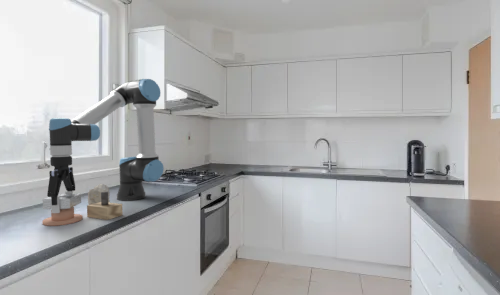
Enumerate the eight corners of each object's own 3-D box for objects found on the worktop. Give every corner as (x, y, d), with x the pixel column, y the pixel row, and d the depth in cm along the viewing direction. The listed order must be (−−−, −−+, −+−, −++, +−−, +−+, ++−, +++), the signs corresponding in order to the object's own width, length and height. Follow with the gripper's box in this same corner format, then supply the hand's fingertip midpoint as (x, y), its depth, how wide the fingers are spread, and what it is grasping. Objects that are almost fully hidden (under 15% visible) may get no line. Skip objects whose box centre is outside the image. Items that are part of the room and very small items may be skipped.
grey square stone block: (56, 203, 127) (56, 194, 126) (81, 202, 128) (80, 193, 128) (42, 209, 117) (42, 199, 117) (69, 208, 118) (69, 198, 118)
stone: (91, 211, 138) (90, 186, 137) (86, 209, 141) (85, 185, 141) (112, 206, 146) (112, 183, 146) (107, 205, 149) (107, 182, 149)
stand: (103, 212, 136) (102, 189, 135) (122, 215, 131) (122, 191, 130) (87, 216, 128) (86, 192, 128) (107, 220, 123) (106, 195, 123)
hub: (68, 214, 132) (67, 191, 131) (90, 218, 126) (89, 193, 126) (34, 223, 119) (33, 197, 118) (57, 227, 113) (56, 200, 113)
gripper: (65, 154, 132) (67, 203, 133) (34, 158, 110) (36, 217, 111) (83, 154, 133) (84, 202, 134) (56, 158, 110) (58, 216, 111)
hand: (62, 209), depth 122 cm, fingers open, 10 cm apart
